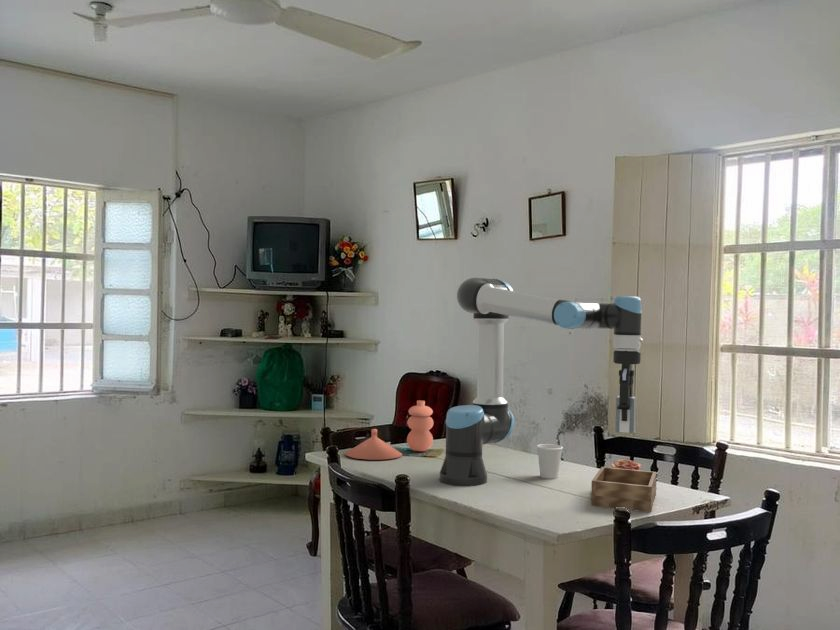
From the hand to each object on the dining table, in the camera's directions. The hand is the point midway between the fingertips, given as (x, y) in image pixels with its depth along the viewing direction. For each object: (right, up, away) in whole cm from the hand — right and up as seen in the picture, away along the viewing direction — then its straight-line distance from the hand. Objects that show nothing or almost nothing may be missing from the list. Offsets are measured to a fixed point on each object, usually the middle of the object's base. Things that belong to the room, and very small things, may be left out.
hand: (625, 430), depth 214 cm
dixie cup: (-17, -20, +29) cm, 39 cm away
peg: (0, 0, 0) cm, 0 cm away
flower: (+6, -20, +20) cm, 29 cm away
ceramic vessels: (-70, -18, +64) cm, 97 cm away
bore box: (0, -20, 0) cm, 20 cm away
